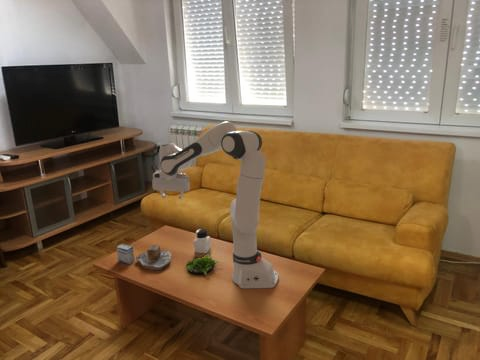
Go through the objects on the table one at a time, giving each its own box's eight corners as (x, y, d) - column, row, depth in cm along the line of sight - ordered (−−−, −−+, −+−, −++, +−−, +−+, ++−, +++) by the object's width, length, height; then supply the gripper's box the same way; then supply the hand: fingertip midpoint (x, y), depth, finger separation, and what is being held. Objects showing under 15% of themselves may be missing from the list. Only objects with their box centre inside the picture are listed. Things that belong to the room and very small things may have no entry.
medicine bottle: (210, 247, 233) (209, 228, 229) (206, 253, 226) (205, 233, 222) (199, 246, 235) (197, 227, 231) (194, 252, 228) (192, 232, 224)
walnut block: (160, 255, 221) (159, 245, 219) (157, 260, 216) (156, 250, 214) (152, 255, 222) (150, 245, 220) (148, 259, 217) (147, 249, 216)
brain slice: (180, 259, 222) (179, 254, 221) (158, 274, 209) (157, 269, 208) (153, 251, 232) (152, 246, 231) (130, 265, 219) (130, 260, 218)
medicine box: (118, 261, 222) (115, 247, 219) (123, 257, 226) (121, 243, 223) (129, 264, 218) (127, 250, 216) (135, 260, 222) (133, 246, 219)
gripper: (190, 172, 218) (192, 196, 222) (154, 171, 222) (157, 195, 227) (186, 175, 212) (188, 201, 216) (149, 174, 217) (152, 199, 221)
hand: (172, 198), depth 222 cm, fingers open, 8 cm apart
